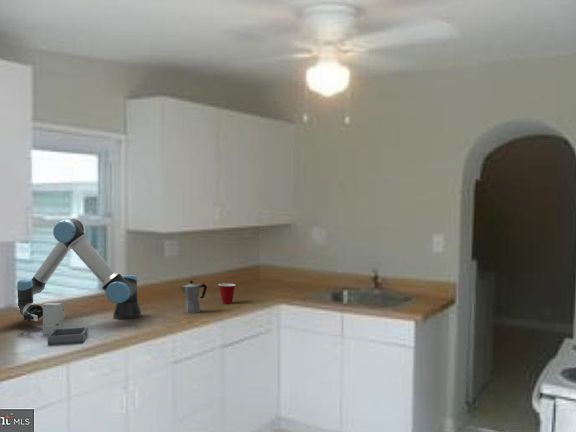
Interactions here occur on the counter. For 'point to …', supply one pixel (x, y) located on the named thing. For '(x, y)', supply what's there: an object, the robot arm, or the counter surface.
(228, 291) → the plastic cup
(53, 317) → the skincare box
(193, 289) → the coffeepot
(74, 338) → the bin
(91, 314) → the counter surface
